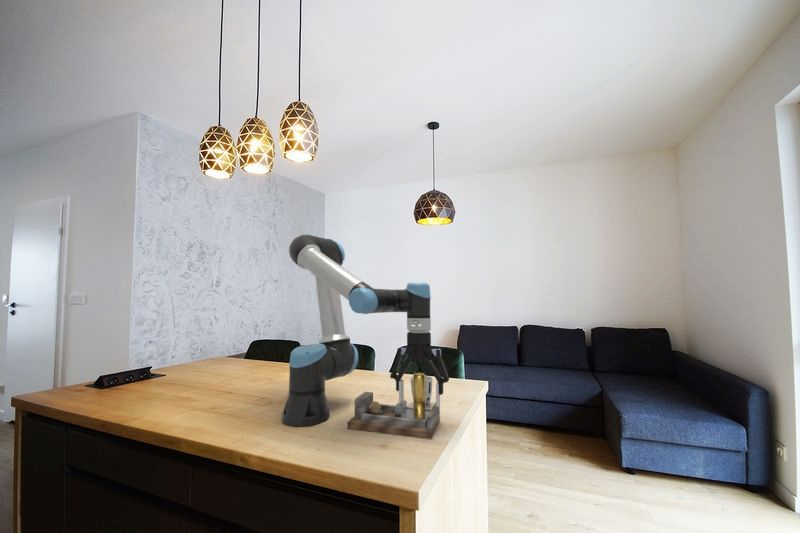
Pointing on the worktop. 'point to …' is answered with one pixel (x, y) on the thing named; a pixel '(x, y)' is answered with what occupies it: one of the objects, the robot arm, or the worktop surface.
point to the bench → (392, 420)
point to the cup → (427, 389)
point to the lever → (418, 401)
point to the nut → (374, 408)
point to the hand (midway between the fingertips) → (419, 403)
